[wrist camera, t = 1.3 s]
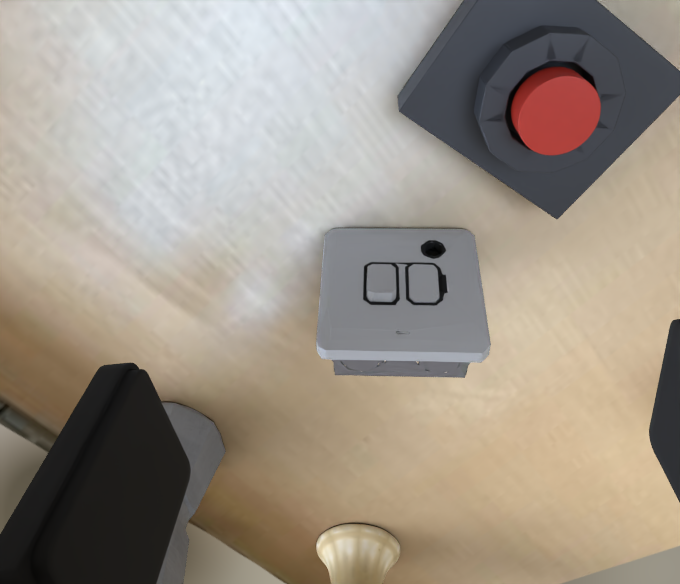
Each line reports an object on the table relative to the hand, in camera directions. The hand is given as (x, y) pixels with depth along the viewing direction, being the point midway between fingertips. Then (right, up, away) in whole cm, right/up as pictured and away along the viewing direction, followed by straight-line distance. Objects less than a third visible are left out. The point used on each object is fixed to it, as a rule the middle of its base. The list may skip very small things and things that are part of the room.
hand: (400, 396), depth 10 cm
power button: (+9, +11, +17) cm, 22 cm away
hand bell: (+1, -23, +46) cm, 51 cm away
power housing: (+9, +13, +20) cm, 26 cm away
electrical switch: (+3, +4, +27) cm, 27 cm away
